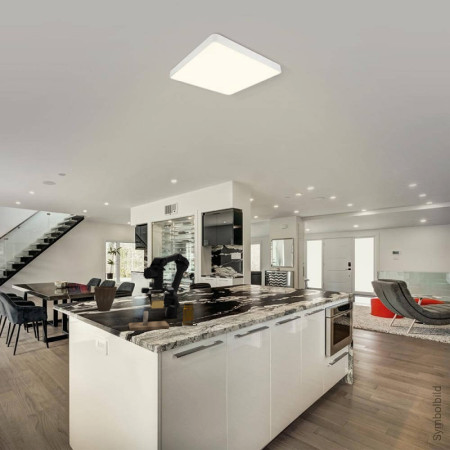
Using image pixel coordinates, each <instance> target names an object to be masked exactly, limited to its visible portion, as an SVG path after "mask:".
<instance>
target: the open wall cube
mask: <svg viewBox="0 0 450 450" xmlns="http://www.w3.org/2000/svg"><path fill="white" fill-rule="evenodd" d="M149 307H150V308H151V309H164V308H165V307H164V302H163V299H162V300H161V299H160V300H157V299H156V300H154V299H153V300H152V305H149Z"/></svg>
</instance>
